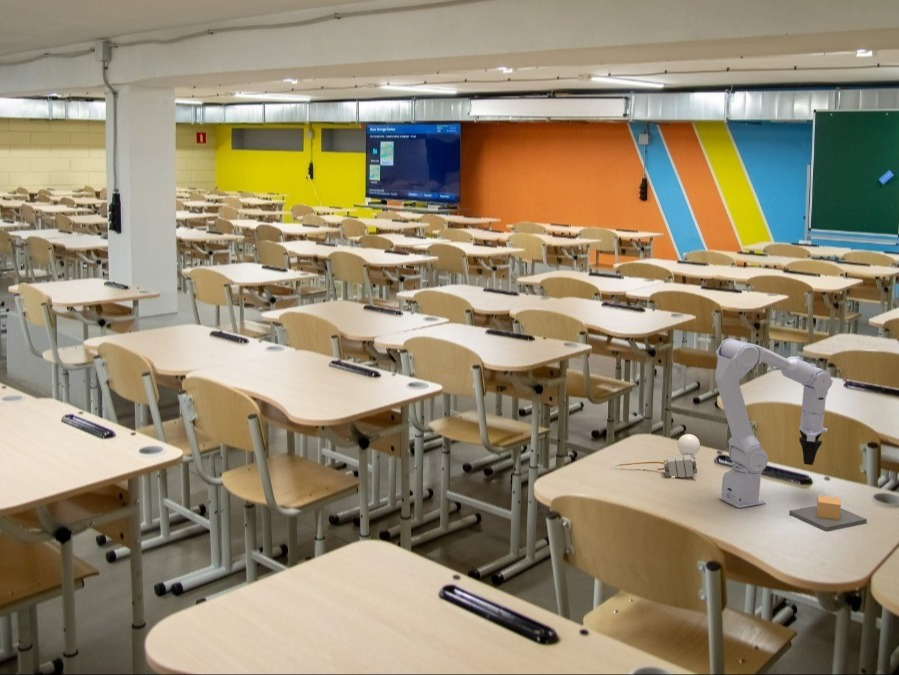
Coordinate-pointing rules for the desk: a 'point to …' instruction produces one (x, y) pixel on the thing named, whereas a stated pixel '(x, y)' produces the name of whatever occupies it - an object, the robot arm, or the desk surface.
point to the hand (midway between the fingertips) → (808, 460)
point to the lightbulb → (688, 445)
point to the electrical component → (682, 462)
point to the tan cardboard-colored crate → (828, 507)
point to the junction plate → (825, 523)
